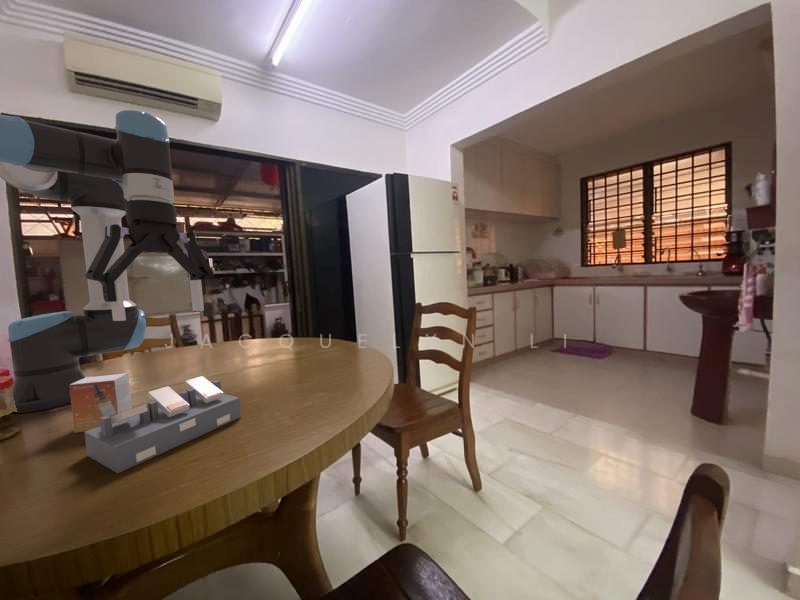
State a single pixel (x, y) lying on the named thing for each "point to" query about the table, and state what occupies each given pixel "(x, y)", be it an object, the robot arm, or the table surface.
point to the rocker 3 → (204, 389)
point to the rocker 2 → (168, 401)
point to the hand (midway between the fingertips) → (162, 315)
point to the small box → (98, 399)
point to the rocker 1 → (129, 413)
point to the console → (157, 430)
